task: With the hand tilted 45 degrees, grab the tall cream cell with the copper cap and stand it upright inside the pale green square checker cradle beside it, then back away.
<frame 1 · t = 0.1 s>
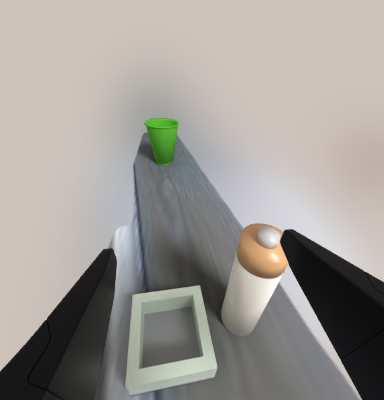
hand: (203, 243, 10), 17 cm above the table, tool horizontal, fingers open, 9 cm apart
cradle: (170, 338, 21), on the table
cell: (237, 316, 23), on the table
cup: (164, 161, 57), on the table
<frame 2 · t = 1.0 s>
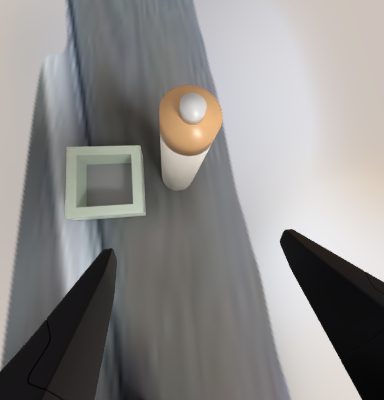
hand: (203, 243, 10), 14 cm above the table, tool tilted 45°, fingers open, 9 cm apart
cradle: (112, 186, 23), on the table
cell: (177, 175, 25), on the table
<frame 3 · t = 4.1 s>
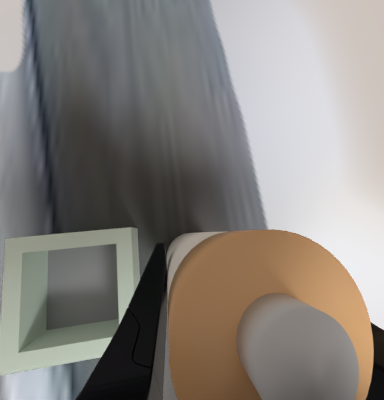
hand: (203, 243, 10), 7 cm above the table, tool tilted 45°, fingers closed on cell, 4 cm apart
cradle: (89, 282, 15), on the table
cell: (190, 256, 16), on the table, touching gripper
when the fingers open (8 cm above the table, at t = 8.2 s): cell drops 1 cm, resting on cradle.
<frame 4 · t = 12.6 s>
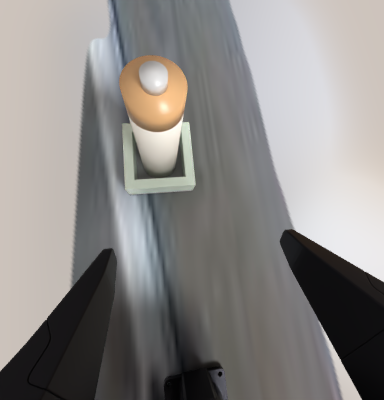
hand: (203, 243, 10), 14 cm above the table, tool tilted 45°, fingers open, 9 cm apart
cradle: (159, 163, 25), on the table
cell: (159, 163, 24), resting on cradle
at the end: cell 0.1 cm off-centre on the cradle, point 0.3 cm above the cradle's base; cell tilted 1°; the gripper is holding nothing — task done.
